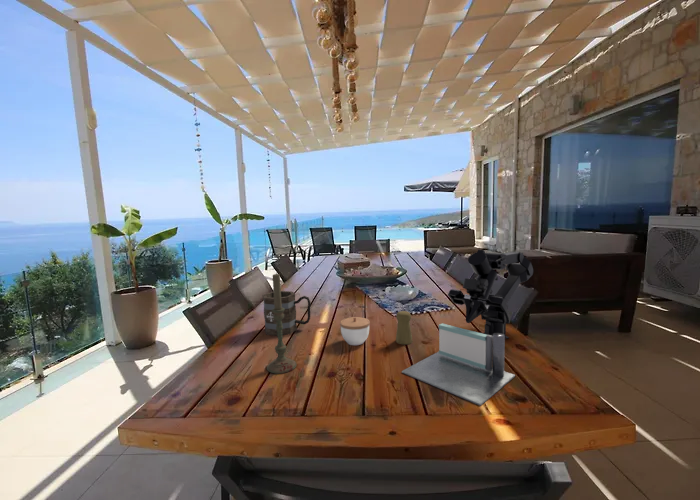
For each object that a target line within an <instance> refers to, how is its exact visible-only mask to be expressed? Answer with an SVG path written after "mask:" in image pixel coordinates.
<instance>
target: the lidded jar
mask: <svg viewBox="0 0 700 500" xmlns="http://www.w3.org/2000/svg"><path fill="white" fill-rule="evenodd" d="M370 324H371V322H370V320H369V319H368V318H365V317H357V316H353V317H352V316H351V317H347V318H346V317H345V318H343V319H342V320H341V321H340V323H339V325H340V333H341V336H342V338H343V340H344V341H345V342H346V343H347V345H350V346H359V345H363V344H364V343H365V341H366V340H367V338H368V337H369V333H370Z"/></svg>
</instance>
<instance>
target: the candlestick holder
mask: <svg viewBox="0 0 700 500" xmlns="http://www.w3.org/2000/svg"><path fill="white" fill-rule="evenodd" d="M272 286H273V287H272V290H273V291H272V292H274V307H275V308H274V309H272V312H273V313H274V315H273V318H274V319H275V320H277V323H276V330H277V336H276V337H277V338H276V339H277V345H275V348H274V350H275V352H276V354H277V358H274V359H273V360H272V361H270V362H269V363H268V364H267V366H266V370H267V372H269V373H271V374H278V375H280V374H285V373H290V372H291V371H293V370H295V369H296V367H297V366H298V365H297V361H296V360H294V359H291V358H290V357H286V355H285V353H286V351H287V345H286V344H284V342H283V337H284V335H282V329H283V326H282V321H281V320H282V319H283V318H284V314H283V312H284V310H285V309H284V308H282V303H281V291H282V290H281V289H282V288H281V275H280V273H278V272H275V273H274V274H272Z"/></svg>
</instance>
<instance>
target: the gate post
mask: <svg viewBox="0 0 700 500" xmlns="http://www.w3.org/2000/svg"><path fill="white" fill-rule="evenodd" d="M505 342H506V339H505V335H504V334H501V333H493V341H492V371H487V370H486V369H483V368H480V367H477V366H474V365H471V364H468V363H465V362H462V361H459V360H456V359H453V358H450V357H447V356H444V355H441V354H439V351H437V352H435V353H433V354H431V355H429V356H427V357H426V358H424V359H422V360H420V361H418V362H416V363H413V364H412V365H411V366H409V367H407V368H404V369H403V370H402V371H401V373H402V374H404V375H406V376H409V377H411V378H413V379H416V380H418V381H421V382H423V383H426V384H428V385H431V386H433V387H435V388H437V389H440V390H442V391H444V392H446V393H449V394H452V395H454V396H456V397H458V398H461V399H463V400H465V401H468V402H470V403H473V404H475V405H478V406H482V405H483V404H485V402H487V401H488V400H489V399H490V398H492V397H493V396H494V395H495V394H497V392H499V391H500V390H501V389H502V388H504V387H505V386H506V385H507V384H509V382H511V380H513V379H514V378H516V374H514V373H511V372H507V371H505Z"/></svg>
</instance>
